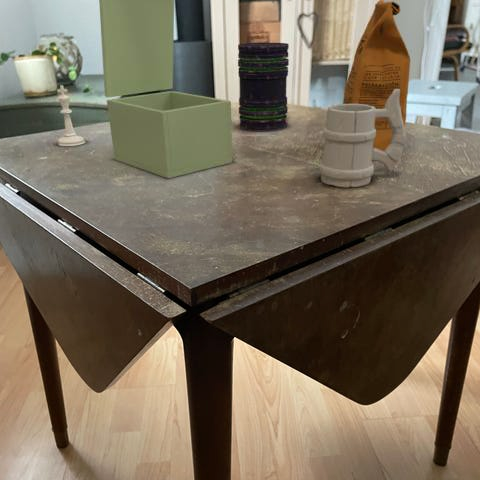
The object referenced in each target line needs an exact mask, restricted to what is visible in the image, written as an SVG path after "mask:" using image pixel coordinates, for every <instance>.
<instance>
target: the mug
mask: <svg viewBox="0 0 480 480" xmlns="http://www.w3.org/2000/svg"><path fill="white" fill-rule="evenodd" d="M399 95H400V89H394V91H393V93H392V94H391V96H389V98H388V99H387V102H386V104H385V107H384V109H375V107H373V106H369V105H364V104H343V103H338V104H336V103H335V104H332V105H329V106H328V107H327V109H326V110H327V112H326V121H325V127H324V128H323V130H322V137H323V138H324V141H323V152H322V160H321V162H320V163H319V166H318V171H319V173H320V181H321V182H322V183H324V184H325V185H327V186H334V187H338V188H357V187H363V186H366V185H369V184H370V183H371V179H372V176H373V174H374V172H375V164H374V163H373V161H374V162H379V163H381V164H383V166H384V167H385V169H386V170H387V171H393V170H394V168H395V165H397V162H399V160H400V159H401V157H402V155H403V152H404V145H405V143H406V141H407V134H406V129H405V125H404V124H403V119H402V114H401V107H400V103H399ZM376 118H387V121H388V123H389V125H390V126H391V128H392V133H393V134H392V138H391V144H389V146H388V147H387V148H386V149H385V151H381V150H379V149H377V148H373V139H374V138H375V136H376V129H375V128H374V124H375V119H376Z"/></svg>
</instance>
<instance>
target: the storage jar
mask: <svg viewBox="0 0 480 480" xmlns="http://www.w3.org/2000/svg"><path fill="white" fill-rule="evenodd" d="M237 47H238V48H237V50H238V54H237V57H238V59H237V67H238V72H237V73H238V77H239V98H238V105H239V107H238V114H239V120H240V122H239V128H240V129H242V130H244V131H251V132H273V131H280V130H284V129H286V128H287V127H288V126H287V125H288V123H287V118H288V115H287V114H288V109H289V107H288V97H287V81H288V80H287V77H288V76H289V67H288V66H289V65H290V64H289V63H290V62H289V61H290V59H289V47H290V46H289V43H287V42H249V43H240V44H238V45H237Z"/></svg>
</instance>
